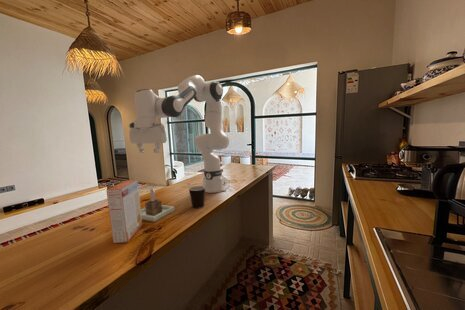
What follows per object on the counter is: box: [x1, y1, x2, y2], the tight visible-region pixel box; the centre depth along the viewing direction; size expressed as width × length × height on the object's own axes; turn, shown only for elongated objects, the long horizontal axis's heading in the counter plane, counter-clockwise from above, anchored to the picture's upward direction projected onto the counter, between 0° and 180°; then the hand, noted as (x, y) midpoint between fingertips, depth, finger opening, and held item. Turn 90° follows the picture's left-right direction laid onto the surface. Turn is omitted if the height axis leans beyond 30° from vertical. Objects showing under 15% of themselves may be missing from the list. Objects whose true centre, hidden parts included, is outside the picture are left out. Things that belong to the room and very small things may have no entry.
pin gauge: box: [149, 188, 156, 203], centre depth 99 cm, size 2×2×12 cm
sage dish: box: [141, 204, 175, 223], centre depth 100 cm, size 14×14×2 cm
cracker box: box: [106, 179, 143, 244], centre depth 80 cm, size 14×6×21 cm, turn 3°
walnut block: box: [144, 198, 163, 216], centre depth 100 cm, size 5×5×6 cm
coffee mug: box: [188, 185, 206, 209], centre depth 110 cm, size 12×9×10 cm
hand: (149, 152), depth 96 cm, fingers open, 8 cm apart
